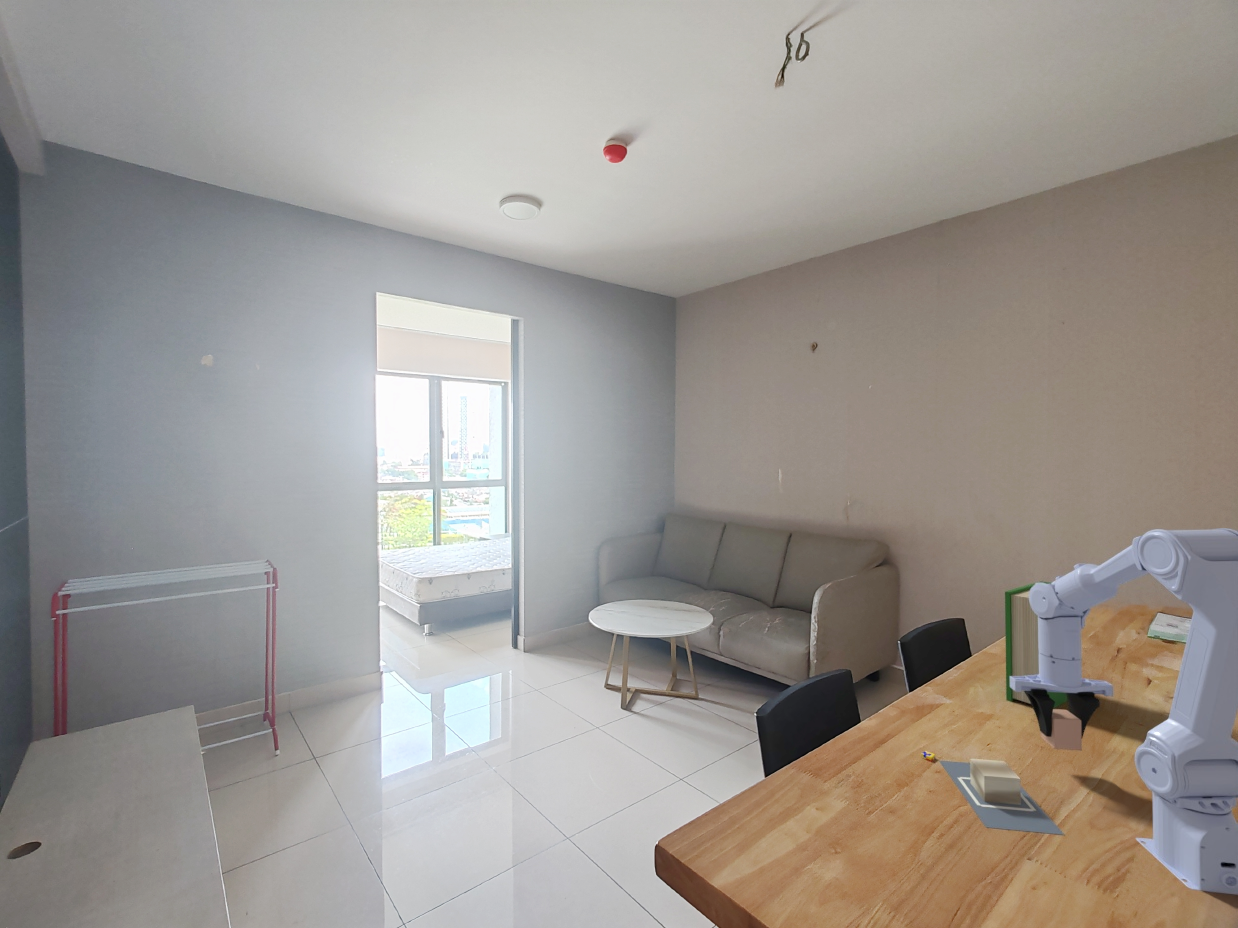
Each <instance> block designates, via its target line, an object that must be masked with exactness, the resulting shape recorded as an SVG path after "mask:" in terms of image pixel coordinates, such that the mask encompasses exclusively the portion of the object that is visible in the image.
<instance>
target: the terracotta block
mask: <svg viewBox="0 0 1238 928" xmlns="http://www.w3.org/2000/svg"><path fill="white" fill-rule="evenodd" d="M1040 738H1042V739H1043V741H1045V742H1046V743H1047V744H1048V745H1049V746H1051V748H1053V749H1055V750H1064V751H1065V750H1067V751H1081V752H1082V751H1083V750H1082V749H1083V748H1082V747H1083V745H1082V744H1083V743H1082V741H1083V740H1082V739H1083V738H1082V735H1081V720H1080V719H1079V718H1077V717H1076V716H1074V715H1073V714H1072V713H1070V712H1069V709H1068V710H1067V709H1059V708H1058V709H1057V708H1054V709H1053V712H1052V734H1051V737H1047V736H1045V735H1044V734H1043V733H1042V732H1041V731H1040Z"/></svg>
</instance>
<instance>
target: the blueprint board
mask: <svg viewBox="0 0 1238 928" xmlns="http://www.w3.org/2000/svg"><path fill="white" fill-rule="evenodd" d="M938 762H939V763H940V765H941V766H942V767H943V769H944V770H945V772H946V773H947V775H948V776H949V777H950V778H951V780H952V781H953V784H955V786H956V787H957V788H958V790H959V791H960V793H961V794H962V796H963V797H964V799H965V800H966V801H967V803H968V804H969V805H970V806H969V807H971V808H972V810H973V812H974V813H975V814H976V815H977V817H978V818H979V820H980V821H981V823H982V824H983V825H984V827H985V828H988V829H998V830H1005V831H1006V830H1008V831H1016V832H1017V831H1018V832H1027V833H1029V832H1030V833H1040V834H1048V835H1058V836H1065V835H1066V834H1065V833H1064V832H1063V831H1062V830H1061V829H1060V828H1059V826H1058V825H1057V824H1056V823H1055V822H1054V821H1053V820H1052V819H1051V818H1050V817H1049V815H1048V814H1047V813H1046V812H1045V811H1044V810H1043V809H1042V808H1041V806H1040V805H1039V804H1038V803H1037V802H1036V801H1035V800H1034V799H1033V798H1032V797H1031V795H1030V794H1029V793H1028V792H1027V791H1026V790H1025V789H1024V788H1023V787H1022V786H1021V805H1018V804H1007V803H995V802H985V801H984V800H983V799H982V797H981V796H980V795H979V793H978V792H977V791H976V790H975V788H974V787H973V786H972V784H971V780H970V762H962V761H953V760H952V761H950V760H949V761H948V760H938Z"/></svg>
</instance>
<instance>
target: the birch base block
mask: <svg viewBox="0 0 1238 928" xmlns="http://www.w3.org/2000/svg"><path fill="white" fill-rule="evenodd" d="M969 763H970V780H971V784H972V786H973V787H974V788H975V790H976V791H977V792H978V793H979V795H980V796H981V797H982V799H983V800H984V801H985V802H995V803H1007V804H1018V805H1021V787H1022V785H1021V778H1020V776H1019V775H1018V774H1017V773H1016V772H1015V771H1014V770H1013V769H1012V768H1011V766H1009V765H1008V763H1006V761H1004V760H996V759H995V760H994V759H992V760H991V759H981V758H970V759H969Z"/></svg>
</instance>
